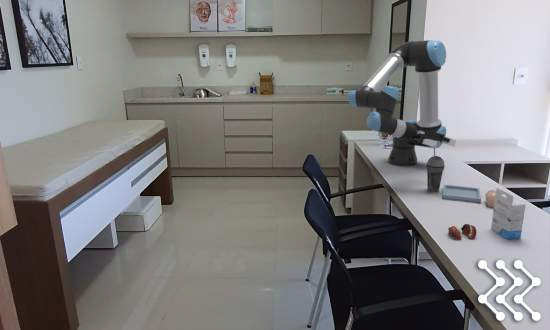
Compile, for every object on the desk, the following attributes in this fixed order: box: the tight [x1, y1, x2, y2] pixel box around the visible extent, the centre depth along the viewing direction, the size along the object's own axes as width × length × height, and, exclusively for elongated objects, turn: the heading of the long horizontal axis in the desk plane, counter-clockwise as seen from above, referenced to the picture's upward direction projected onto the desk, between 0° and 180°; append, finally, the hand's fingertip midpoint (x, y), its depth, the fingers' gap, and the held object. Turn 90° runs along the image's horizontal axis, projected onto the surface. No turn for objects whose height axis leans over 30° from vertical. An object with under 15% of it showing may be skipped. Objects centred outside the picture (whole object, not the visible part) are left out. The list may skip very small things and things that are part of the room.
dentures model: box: [447, 223, 477, 241], centre depth 127 cm, size 6×4×8 cm
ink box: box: [490, 187, 527, 240], centre depth 126 cm, size 8×5×15 cm, turn 5°
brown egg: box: [484, 189, 496, 209], centre depth 152 cm, size 7×5×5 cm
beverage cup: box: [426, 146, 445, 194], centre depth 167 cm, size 7×7×20 cm
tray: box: [442, 184, 482, 204], centre depth 163 cm, size 14×14×2 cm
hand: (445, 144), depth 170 cm, fingers open, 13 cm apart
